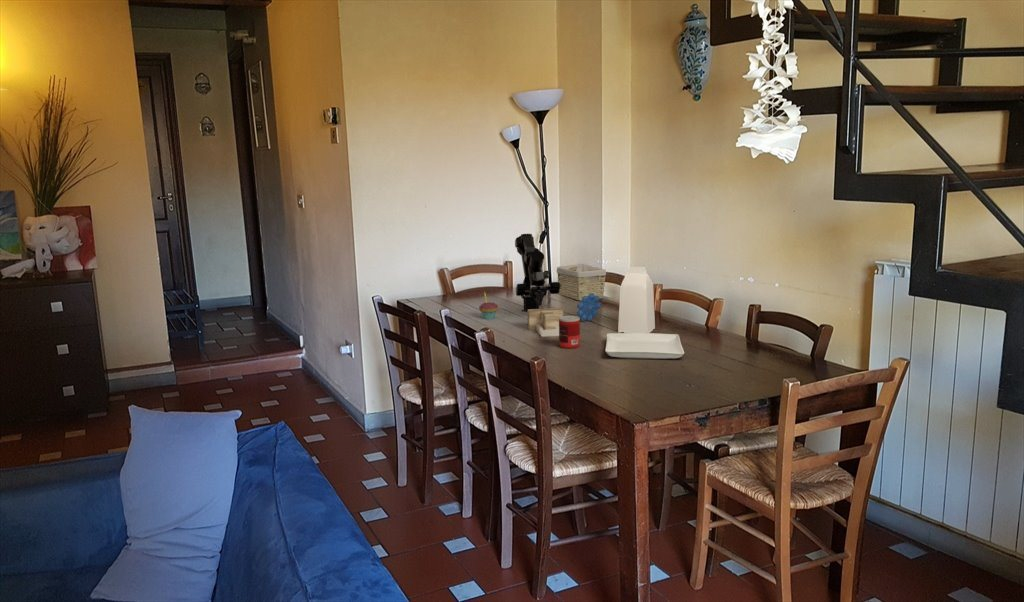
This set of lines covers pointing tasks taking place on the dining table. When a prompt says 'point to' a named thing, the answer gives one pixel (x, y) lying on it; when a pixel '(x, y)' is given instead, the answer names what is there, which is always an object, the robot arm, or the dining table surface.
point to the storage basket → (581, 281)
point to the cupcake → (488, 309)
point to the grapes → (588, 307)
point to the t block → (544, 318)
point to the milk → (636, 302)
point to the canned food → (569, 332)
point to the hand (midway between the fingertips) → (540, 305)
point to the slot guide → (547, 331)
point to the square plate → (644, 345)
